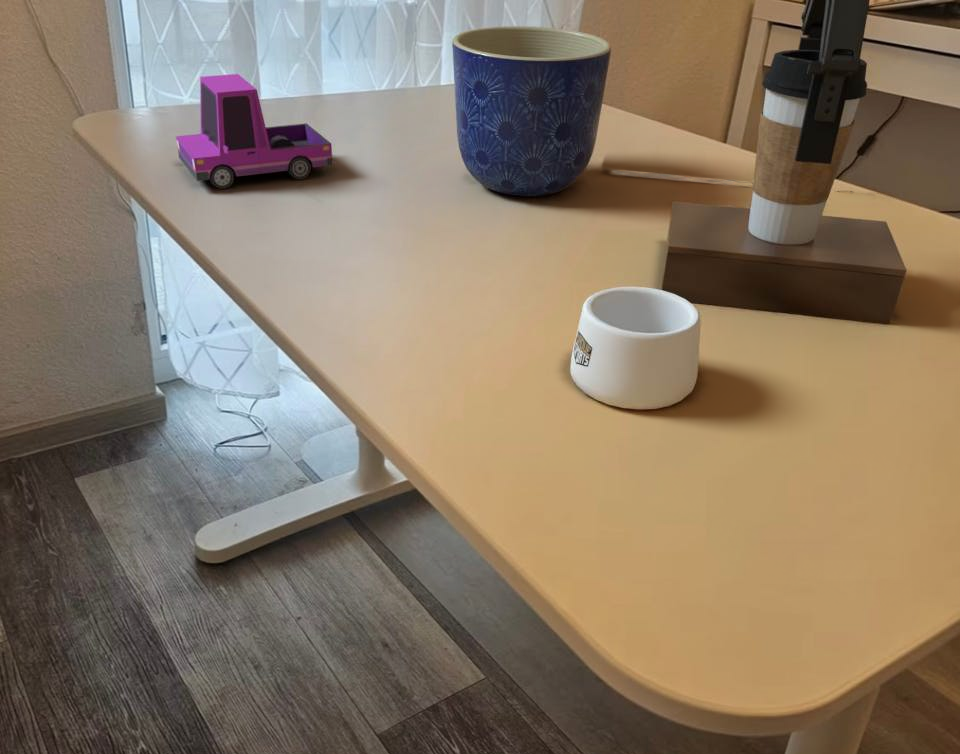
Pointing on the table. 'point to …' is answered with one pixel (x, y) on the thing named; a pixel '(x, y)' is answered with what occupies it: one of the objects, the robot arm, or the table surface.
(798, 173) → the coffee cup
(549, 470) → the table surface
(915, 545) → the table surface
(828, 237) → the dark wooden box
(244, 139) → the toy truck
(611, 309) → the mug
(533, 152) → the planter
